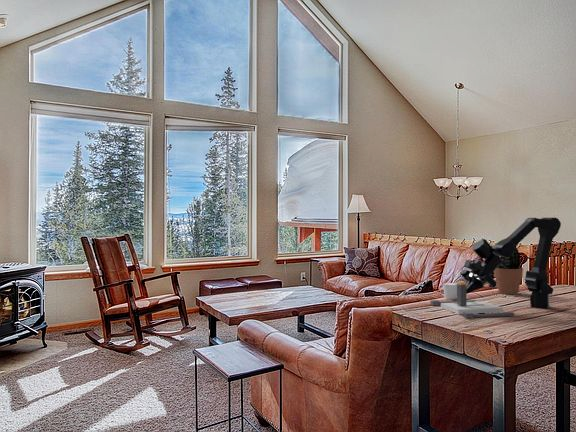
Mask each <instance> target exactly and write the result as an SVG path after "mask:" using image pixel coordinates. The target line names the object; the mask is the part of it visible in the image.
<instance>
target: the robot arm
mask: <svg viewBox="0 0 576 432" xmlns="http://www.w3.org/2000/svg"><path fill="white" fill-rule="evenodd" d="M561 227H562V222H561V221H560V219H559V218H557V217H541V218H537V217H527V218H526V219H525V220H524V221H523V222H522V224H520V225H519V226H518V227H517V228H516V229H515V230H514V231H513V232H512V233H511V234H510V235H509V236H507V237H506V238H504V239H501V240H499V241H498V242H496V243H495V244H494V245H491V244H490V243H489V242H488V241H487V240H486V239H485V238H482V239H480V240H478V241H476V242H474V243H473V244H472V246H471V250H472V251H473V253H475V254H476V255H477V257H478V258H479V259H482V260H483V259H484V260H483V261H481V260H478V259H476V260H475V261H474V260H471V259H466V260H465V262H464V265H463V267H464V268H467V269H461V271H460V272H459V275H461V277H462V278H463V279H465V282H466V295H467V294H470V293H472V292H475V291H477V290H480V289H482V288H483V289H484V288H485V285H486V284H487V283H488V288H490V289H495V288H497V282H496V279H494V278H493V277H492V276H494V274H495V273H494V270H495V269H496V268H497V267H498V266H499V265H501V266H506V264H505V260H504V259H501V258H500V257H510V256H511V255H512V254H513V253H514V251H515V250H516V248H517V246H518V245H519V243H520V242H522V241H523V240H524V239H525V238H526V237H527V236H528V235H529V234H530V233H531V232H532V231H533V230H535V229H536V228H537V231H538V234H539V240H538V244H537V249H536V252H535V257H534V261H533V266H532V268H531V270H526V271H525V276H524V278H523V280H525V281H524V283H525V286H526V287H527V290H528V292H531V295H530V297H529V299H530V300H529V301H530V302H529V305H530V307H532V308H537V309H539V308H540V309H545V310H546V309H549V308H550V307H551V305H550V295H553V292H554V288H553V287H552V286H551V285H550V284H549V283H548V281H549V276H548V274H547V266H548V263H549V257H550V253H551V249H552V245H553V240H554V238H555V237H556V236H557V234H558V233H559V232H560V230H561ZM468 269H469V270H468Z"/></svg>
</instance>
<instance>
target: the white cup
mask: <svg viewBox="0 0 576 432" xmlns="http://www.w3.org/2000/svg"><path fill="white" fill-rule="evenodd" d="M442 287H443V296H444V299H447V300H457V283H454V282H445V283H444V282H443V283H442Z"/></svg>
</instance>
